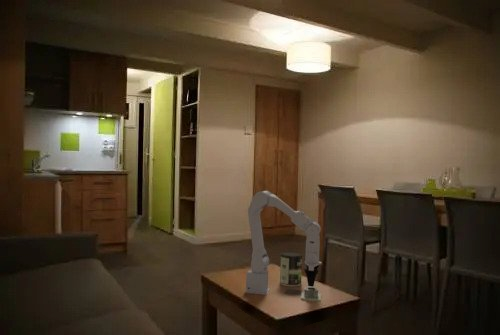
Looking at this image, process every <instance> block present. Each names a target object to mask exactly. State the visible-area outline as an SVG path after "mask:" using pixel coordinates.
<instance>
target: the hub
mask: <svg viewBox="0 0 500 335" xmlns="http://www.w3.org/2000/svg"><path fill="white" fill-rule="evenodd" d="M309 290H313V289H309ZM300 300H301V301H307V302H308V301H309V302H317V303H318V302H319V303H321V300H322V293H319V292H318V297H317V298H307V297H305V296H304V291H302V292H301V295H300Z"/></svg>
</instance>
